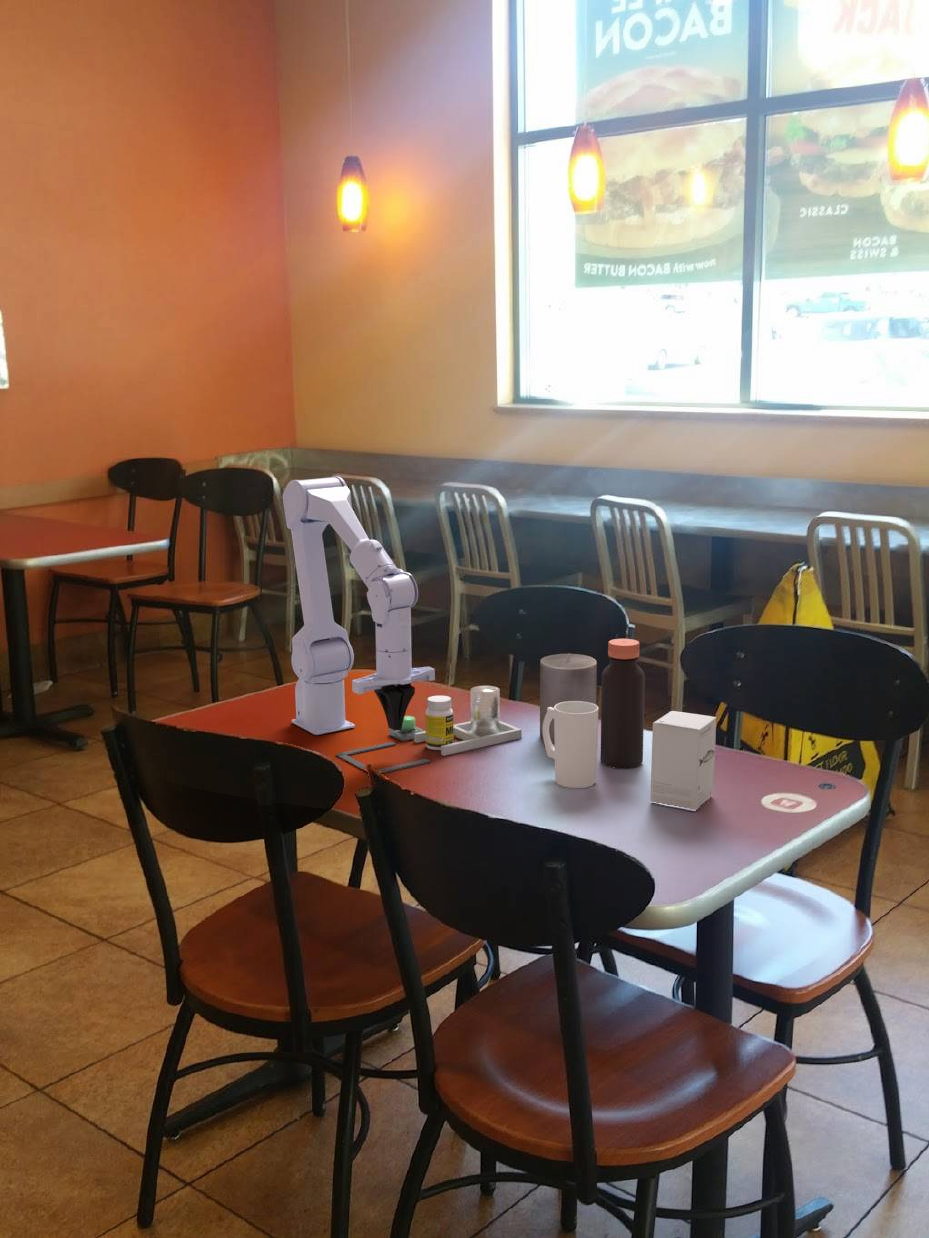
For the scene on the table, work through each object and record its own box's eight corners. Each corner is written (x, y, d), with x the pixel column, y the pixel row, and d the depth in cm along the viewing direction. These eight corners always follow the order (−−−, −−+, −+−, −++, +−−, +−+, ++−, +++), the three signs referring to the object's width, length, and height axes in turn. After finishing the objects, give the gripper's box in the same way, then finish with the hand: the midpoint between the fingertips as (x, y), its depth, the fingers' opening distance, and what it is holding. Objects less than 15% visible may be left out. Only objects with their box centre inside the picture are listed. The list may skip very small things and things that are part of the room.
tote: (335, 755, 204) (335, 753, 204) (391, 743, 210) (391, 741, 210) (372, 775, 194) (372, 774, 194) (430, 762, 200) (430, 760, 200)
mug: (606, 781, 191) (607, 707, 188) (578, 792, 186) (579, 716, 183) (557, 766, 198) (557, 694, 195) (528, 776, 193) (529, 703, 190)
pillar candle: (546, 726, 218) (546, 644, 214) (600, 730, 215) (601, 647, 212) (534, 744, 209) (533, 659, 205) (591, 748, 206) (591, 662, 203)
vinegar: (651, 761, 199) (654, 641, 195) (626, 772, 195) (628, 649, 190) (616, 752, 204) (619, 635, 200) (591, 762, 199) (593, 642, 195)
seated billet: (465, 733, 214) (464, 688, 212) (488, 728, 216) (488, 684, 215) (481, 740, 210) (481, 695, 208) (505, 735, 212) (505, 690, 211)
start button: (394, 733, 214) (394, 717, 213) (409, 730, 216) (409, 714, 215) (403, 737, 211) (403, 722, 211) (418, 734, 213) (418, 719, 213)
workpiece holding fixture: (414, 741, 210) (414, 733, 210) (490, 724, 219) (490, 716, 219) (443, 755, 203) (443, 747, 203) (521, 737, 212) (521, 729, 212)
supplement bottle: (449, 751, 205) (449, 703, 203) (422, 750, 206) (421, 701, 204) (456, 742, 210) (456, 695, 208) (429, 741, 211) (429, 693, 209)
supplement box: (696, 813, 178) (699, 729, 175) (648, 803, 181) (650, 721, 179) (714, 797, 184) (718, 716, 181) (668, 788, 188) (670, 708, 185)
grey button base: (389, 734, 214) (389, 728, 214) (410, 730, 217) (410, 723, 216) (402, 741, 211) (402, 734, 210) (424, 736, 213) (424, 730, 213)
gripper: (366, 660, 192) (368, 743, 195) (444, 646, 200) (445, 726, 203) (344, 650, 198) (347, 731, 201) (421, 638, 206) (422, 716, 209)
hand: (395, 728), depth 202 cm, fingers closed
